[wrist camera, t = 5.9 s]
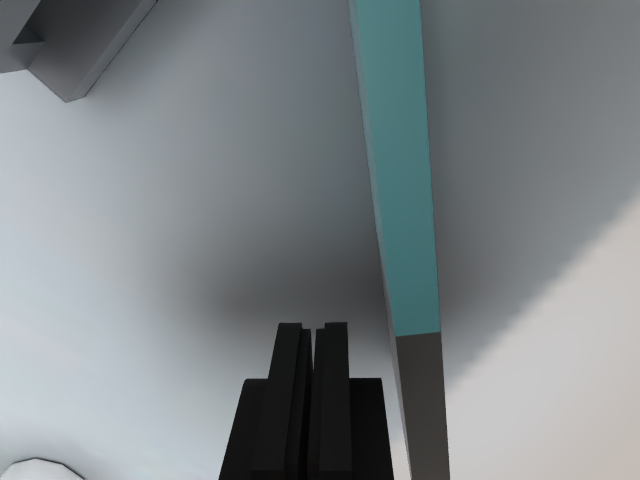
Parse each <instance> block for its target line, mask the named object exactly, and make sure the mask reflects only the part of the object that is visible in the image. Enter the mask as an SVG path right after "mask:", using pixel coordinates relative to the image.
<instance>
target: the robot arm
mask: <svg viewBox="0 0 640 480" xmlns="http://www.w3.org/2000/svg"><path fill="white" fill-rule="evenodd" d="M218 480H394V476H393V468H392V459H391V451H390V443H389V435H388V427H387V419H386V411H385V402H384V394H383V386H382V380H381V378H349V361H348V330H347V322H332V323H325V329H316V340H315V354H314V369H313V360H312V343H311V330H310V329H303V328H302V323H279V325H278V330H277V335H276V340H275V345H274V350H273V355H272V360H271V365H270V371H269V376H268V379H246V380H245V381H244V384H243V387H242V391H241V395H240V399H239V403H238V407H237V410H236V414H235V418H234V422H233V426H232V430H231V433H230V437H229V441H228V445H227V449H226V453H225V456H224V460H223V464H222V468H221V472H220V475H219V479H218Z"/></svg>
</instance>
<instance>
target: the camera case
mask: <svg viewBox="0 0 640 480" xmlns="http://www.w3.org/2000/svg"><path fill="white" fill-rule="evenodd" d="M156 2H157V0H0V73H6V72H13V71H19V70H25V69H27V70H28V71H29V72H31V73H32V74H33V75H34V76H35V77H36V78H38V79H39V80H40V81H41V82H42V83H43V84H44V85H46V86H47V87H48V88H49V89H50V90H51V91H52V92H54V93H55V94H56V95H57V96H58V97H59V98H61V99H62V100H63V101H64V102H65V103H67V102H70V101H74V100H77V99H80V98H83V97H84V96H85V95H86V93H87V92H88V91H89V89H90V88H91V87H92V86H93V84H94V83H95V82H96V80H97V79H98V78H99V76H100V75H101V74H102V72H103V71H104V70H105V69H106V67H107V66H108V65H109V63H110V62H111V61H112V59H113V58H114V57H115V55H116V54H117V53H118V51H119V50H120V49H121V48H122V46H123V45H124V44H125V42H126V41H127V40H128V38H129V37H130V36H131V34H132V33H133V32H134V30H135V29H136V28H137V27H138V25H139V24H140V23H141V21H142V20H143V19H144V17H145V16H146V15H147V13H148V12H149V11H150V10H151V8H152V7H153V6H154V4H155V3H156Z"/></svg>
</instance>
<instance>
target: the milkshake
mask: <svg viewBox="0 0 640 480" xmlns="http://www.w3.org/2000/svg"><path fill="white" fill-rule="evenodd" d="M0 480H83V479H82V478H80V477H79V476H78V475H76V474H75V473H73V472H72V471H70V470H69V469H68V468H66V467H65V466H64V465H62V464H57V463H53V462H48V461H44V460H40V459H31V460H27V461H23V462H19V463H14V464H12V465H11V466H10V467H9V468H8V469H7V470H6V472H5V473H4V474H3V475H2V476H1V478H0Z"/></svg>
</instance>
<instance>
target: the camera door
mask: <svg viewBox="0 0 640 480" xmlns="http://www.w3.org/2000/svg"><path fill="white" fill-rule="evenodd" d="M348 6H349V14H350V22H351V30H352V38H353V46H354V54H355V62H356V71H357V79H358V87H359V95H360V103H361V111H362V119H363V127H364V135H365V143H366V151H367V159H368V167H369V175H370V183H371V191H372V200H373V208H374V216H375V224H376V232H377V240H378V248H379V256H380V264H381V272H382V280H383V288H384V296H385V304H386V312H387V320H388V328H389V337H390V345H391V353H392V361H393V368H394V375H395V381H396V387H397V394H398V400H399V406H400V413H401V419H402V425H403V432H404V438H405V444H406V451H407V457H408V463H409V470H410V476H411V480H450V471H449V454H448V438H447V424H446V406H445V390H444V375H443V359H442V343H441V327H440V311H439V295H438V280H437V264H436V248H435V232H434V216H433V201H432V185H431V169H430V153H429V137H428V121H427V106H426V90H425V74H424V58H423V42H422V26H421V11H420V0H348Z"/></svg>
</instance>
